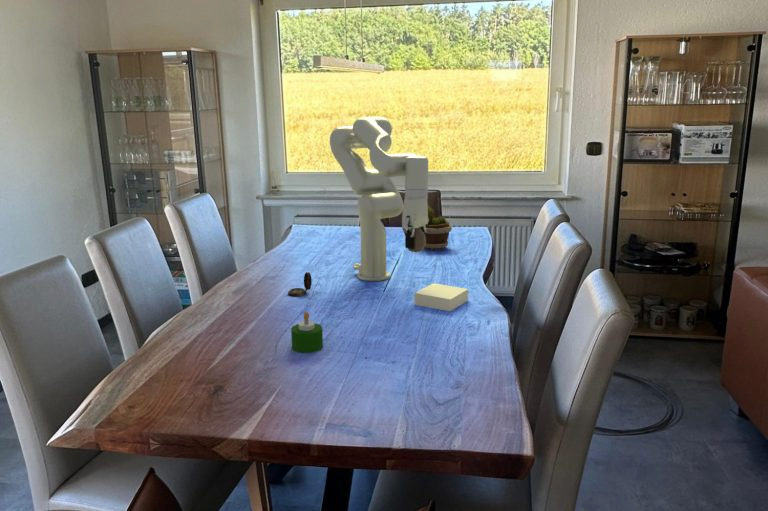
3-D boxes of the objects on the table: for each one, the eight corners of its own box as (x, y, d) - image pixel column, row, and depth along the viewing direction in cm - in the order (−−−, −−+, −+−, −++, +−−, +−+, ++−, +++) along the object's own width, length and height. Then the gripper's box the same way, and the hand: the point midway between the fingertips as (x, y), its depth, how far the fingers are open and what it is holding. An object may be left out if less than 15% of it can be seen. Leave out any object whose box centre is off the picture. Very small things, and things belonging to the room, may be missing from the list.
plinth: (414, 304, 203) (414, 292, 202) (433, 294, 213) (433, 283, 213) (450, 311, 196) (450, 299, 195) (467, 300, 207) (468, 289, 206)
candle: (309, 355, 163) (308, 319, 160) (285, 349, 167) (283, 313, 165) (328, 345, 170) (327, 310, 167) (305, 339, 174) (303, 305, 172)
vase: (424, 253, 207) (424, 228, 205) (403, 252, 208) (403, 227, 206) (426, 248, 214) (427, 223, 211) (407, 247, 215) (407, 222, 213)
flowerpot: (456, 246, 283) (457, 203, 278) (441, 253, 271) (441, 208, 266) (428, 243, 291) (429, 200, 286) (412, 249, 278) (412, 205, 273)
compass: (285, 292, 217) (284, 272, 215) (307, 289, 220) (306, 270, 218) (292, 299, 210) (291, 278, 208) (314, 296, 213) (314, 275, 211)
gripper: (419, 189, 215) (418, 239, 220) (392, 196, 201) (392, 249, 205) (438, 191, 211) (437, 242, 216) (412, 198, 197) (412, 252, 202)
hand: (415, 245), depth 211 cm, fingers closed on vase, 6 cm apart
